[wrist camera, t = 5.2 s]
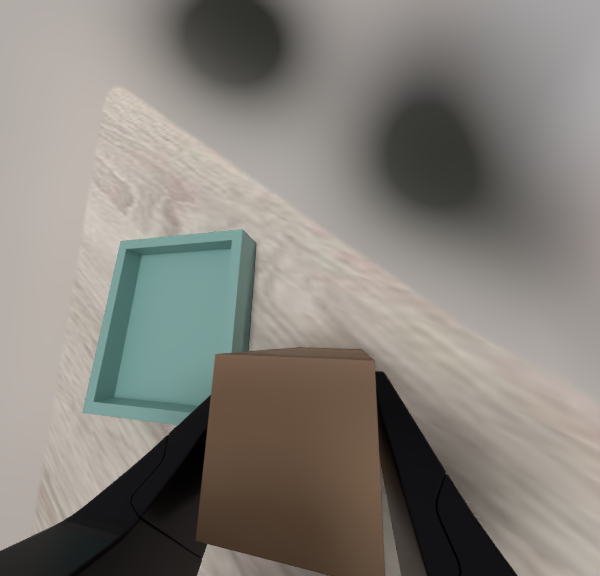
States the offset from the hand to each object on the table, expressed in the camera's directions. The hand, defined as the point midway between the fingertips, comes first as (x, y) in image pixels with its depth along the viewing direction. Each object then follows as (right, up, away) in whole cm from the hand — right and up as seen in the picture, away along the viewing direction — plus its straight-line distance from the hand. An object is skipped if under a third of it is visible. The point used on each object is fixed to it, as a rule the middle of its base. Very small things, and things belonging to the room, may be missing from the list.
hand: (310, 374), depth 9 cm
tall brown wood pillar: (+2, -3, +6) cm, 7 cm away
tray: (-10, +1, +10) cm, 14 cm away
